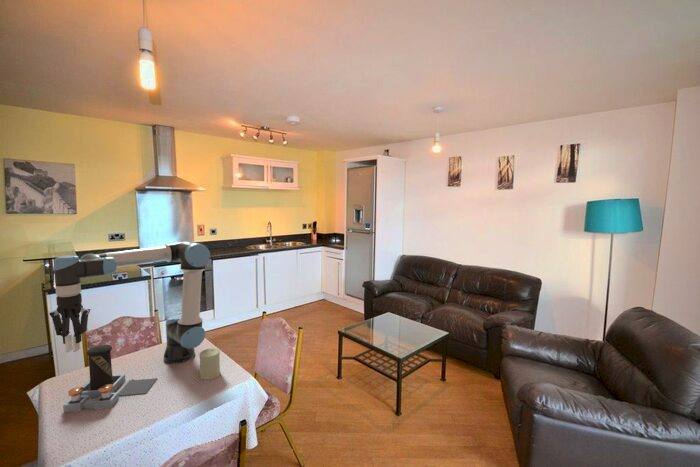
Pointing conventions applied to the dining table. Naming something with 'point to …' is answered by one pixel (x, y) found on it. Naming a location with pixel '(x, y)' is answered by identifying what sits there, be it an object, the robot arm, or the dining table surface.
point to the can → (209, 364)
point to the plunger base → (90, 403)
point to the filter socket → (95, 393)
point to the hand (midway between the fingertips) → (73, 350)
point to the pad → (137, 387)
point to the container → (100, 366)
